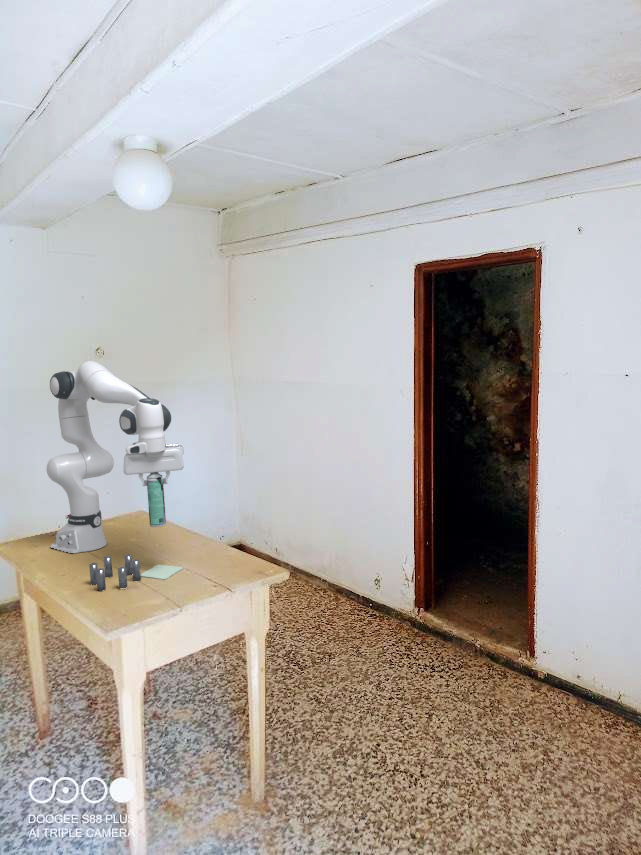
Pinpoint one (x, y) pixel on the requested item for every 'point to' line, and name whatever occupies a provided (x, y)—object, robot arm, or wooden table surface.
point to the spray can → (156, 500)
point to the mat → (161, 572)
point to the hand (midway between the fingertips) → (155, 484)
